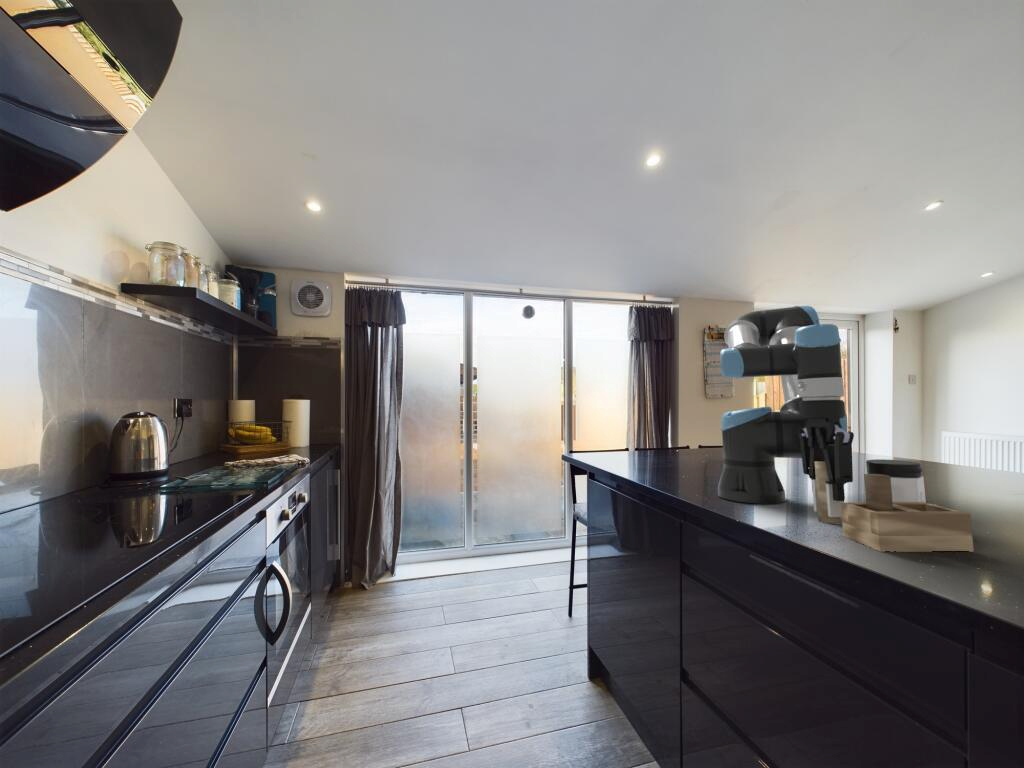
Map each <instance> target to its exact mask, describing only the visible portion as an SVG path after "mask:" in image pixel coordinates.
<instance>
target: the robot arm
mask: <svg viewBox="0 0 1024 768" xmlns="http://www.w3.org/2000/svg"><path fill="white" fill-rule="evenodd" d="M723 334H724V335H723V339H724V342H725V344H726V345H727V346H728V347H727V348H723V349H721V350H720V352H719V353H720V355H719V356H720V372H721V376H722V377H723V378H726V379H733V378H734V379H737V380H738V379H741V378H742V379H743V378H744V379H745V378H758V377H760V378H761V377H779V376H780V380H781V387H782V393H783V399H784V403H783V404H782V405H781V407H780V409H779V411H773V409H772V407H771V406H760V407H753V408H746V409H738V410H732V411H727V412H726V411H725V412H724V413H723V414H722V416H721V429H720V431H721V438H722V458H723V469H722V472H721V474H720V478H719V482H718V485H717V496H718V497H720V498H722V499H725V500H728V501H733V502H740V503H749V504H761V505H763V504H764V505H765V504H767V505H768V504H769V505H770V504H771V505H772V504H779V503H783V502H786V491H785V489H784V485H783V484H782V482H781V479H780V477H779V475H778V472H777V469H776V461H775V458H777V459H778V458H779V459H780V458H781V459H783V458H785V459H801V461H802V471H803V474H804V475H807V476H808V478H810V480H811V490H812V499H813V502H812V503H813V511H814V512H816V513H817V512H818V503H817V489H816V475H815V461H825V463H826V468H827V473H828V479H829V481H825V482H826V492H827V505H828V516H829V517H841V518H842V509H841V503H845V499H846V497H845V484H848V483H853V481H854V475H853V474H854V473H853V471H854V470H853V441H854V437H855V433H854V432H852V431H848V415H847V413H846V405H845V401H844V400H843V399H841V398H843V397H844V396H845V390H844V386H845V385H844V378H843V372H842V371H843V369H842V368H843V367H842V354H841V342H842V340H841V338H840V331H839V327H838V326H837V325H836V324H833V323H820V318H819V315H818V312H817V311H816V309H815V308H814V307H813V306H810V305H794V306H791V307H781V308H774V309H773V308H772V309H763V310H755V311H750V312H747V313H744V314H743V315H740V316H738V317H736V318H735V319H733V320H732V321H731V322H730V323H729V324H728V325H727V326H726V328H725V330H724V333H723Z"/></svg>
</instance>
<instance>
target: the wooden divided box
mask: <svg viewBox="0 0 1024 768" xmlns="http://www.w3.org/2000/svg"><path fill="white" fill-rule="evenodd" d="M841 509H842V517H841V523H842V532H843V533H842V535H843V537H844V536H845V538H846V539H849V538H850V539H849V540H851V539H852V541H854V542H856V541H857V543H860V544H861V545H863V544H864V545H863V546H866V547H868V548H870V547H871V548H870V549H873V550H875V551H877V550H878V552H882V553H883V552H885V551H890V553H891V552H893V553H894V551H896V552H898V553H901V552H903V553H905V552H906V553H910V552H911V553H912V552H913V553H914V552H915V553H920V552H921V553H922V552H924V553H926V552H927V553H932V551H969V552H968V553H974V551H975V550H974V542H973V529H972V518H971V513H969V512H965V511H961V510H957V509H955V508H954V509H953V508H949V507H945V506H941V505H937V504H934V503H928V502H926V503H925V502H893V511H880V512H876V511H873V510H869V509H867V507H866V501H864V502H857V501H856V502H852V501H851V502H844V503H841ZM896 552H895V553H896ZM885 553H886V552H885Z"/></svg>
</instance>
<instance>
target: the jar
mask: <svg viewBox="0 0 1024 768" xmlns="http://www.w3.org/2000/svg"><path fill="white" fill-rule="evenodd" d="M865 465H866V467H865V469H866V474H882V475H888V476H890V477H891V489H892V501H893V502H925V503H927V502H926V500H927V499H926V492H925V491H926V490H925V480H924V476H923V474H922V473H923V469H922V464H921V463H920V462H918V461H912V460H911V461H909V460H900V459H899V460H898V459H881V458H880V459H878V458H877V459H867V460H866V461H865Z"/></svg>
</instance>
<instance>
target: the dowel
mask: <svg viewBox="0 0 1024 768" xmlns="http://www.w3.org/2000/svg"><path fill="white" fill-rule="evenodd" d="M815 475H816V489H817V503H818V513H817V516H818V521H819V522H821V523H824V522H825V523H824V524H829V523H831V525H840V524H841V523H842V517H829V516H828V505H827V492H826V482H825V481H829V479H828V473H827V468H826V463H825V461H815Z"/></svg>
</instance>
